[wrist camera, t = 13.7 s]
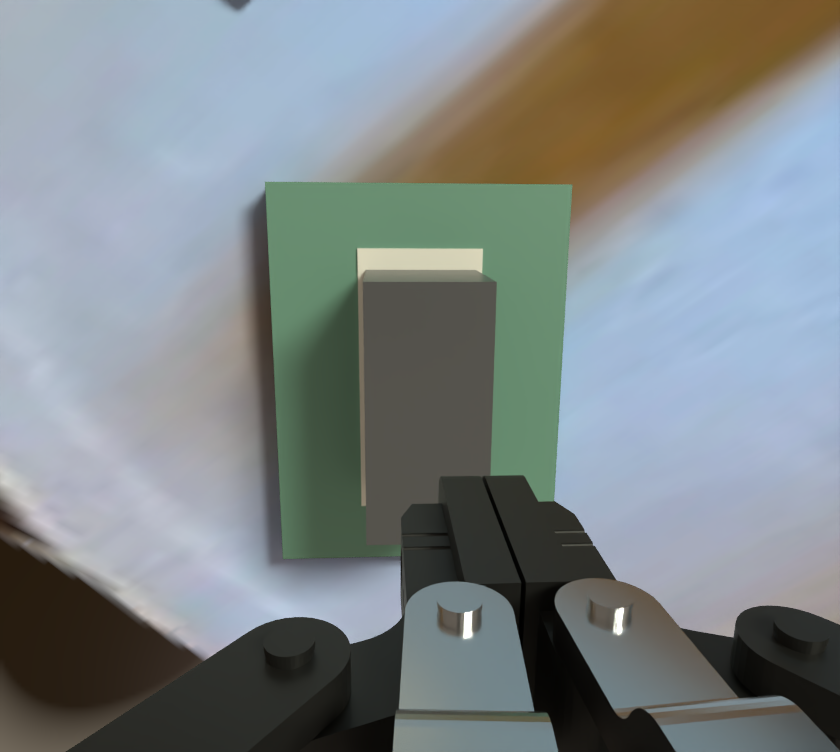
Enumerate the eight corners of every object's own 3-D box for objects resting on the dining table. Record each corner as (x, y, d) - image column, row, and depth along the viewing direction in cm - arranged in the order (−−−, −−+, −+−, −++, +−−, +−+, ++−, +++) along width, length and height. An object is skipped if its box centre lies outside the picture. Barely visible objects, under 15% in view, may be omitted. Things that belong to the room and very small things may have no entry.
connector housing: (366, 269, 26) (362, 281, 22) (475, 269, 27) (496, 281, 22) (368, 489, 29) (366, 545, 24) (470, 487, 29) (488, 542, 24)
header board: (271, 183, 27) (247, 176, 22) (562, 186, 28) (600, 180, 23) (287, 542, 31) (269, 603, 26) (543, 536, 31) (572, 595, 26)
